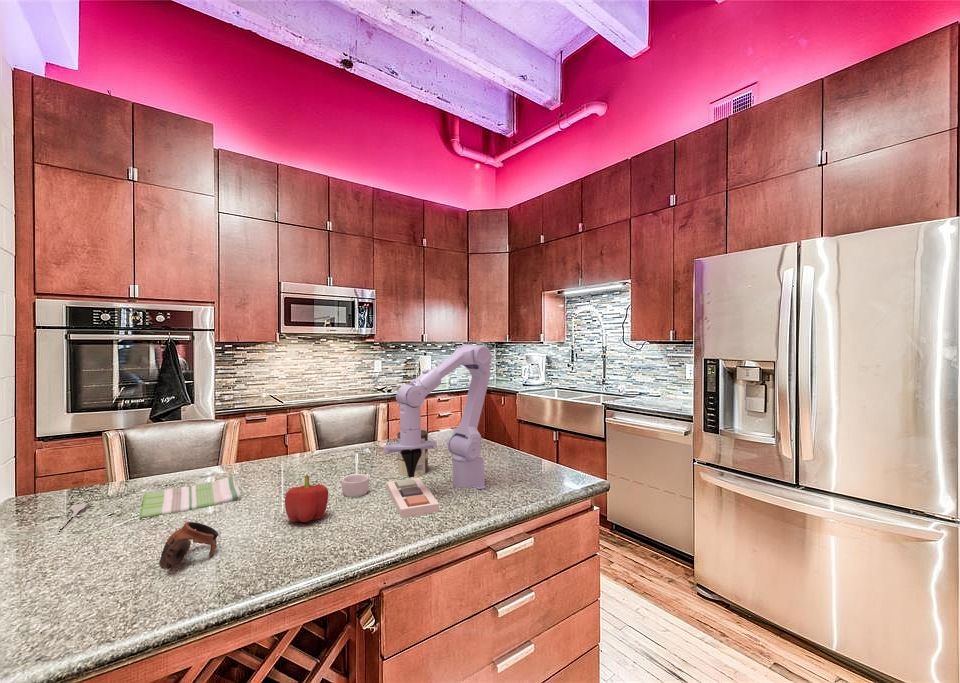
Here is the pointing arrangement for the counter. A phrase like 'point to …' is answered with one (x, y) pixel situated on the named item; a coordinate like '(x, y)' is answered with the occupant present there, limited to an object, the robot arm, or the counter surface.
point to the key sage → (405, 483)
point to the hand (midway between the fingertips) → (410, 476)
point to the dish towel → (190, 497)
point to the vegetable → (306, 502)
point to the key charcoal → (410, 491)
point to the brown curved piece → (187, 542)
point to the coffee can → (422, 463)
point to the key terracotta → (416, 500)
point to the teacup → (355, 485)
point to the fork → (78, 508)
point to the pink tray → (401, 501)
